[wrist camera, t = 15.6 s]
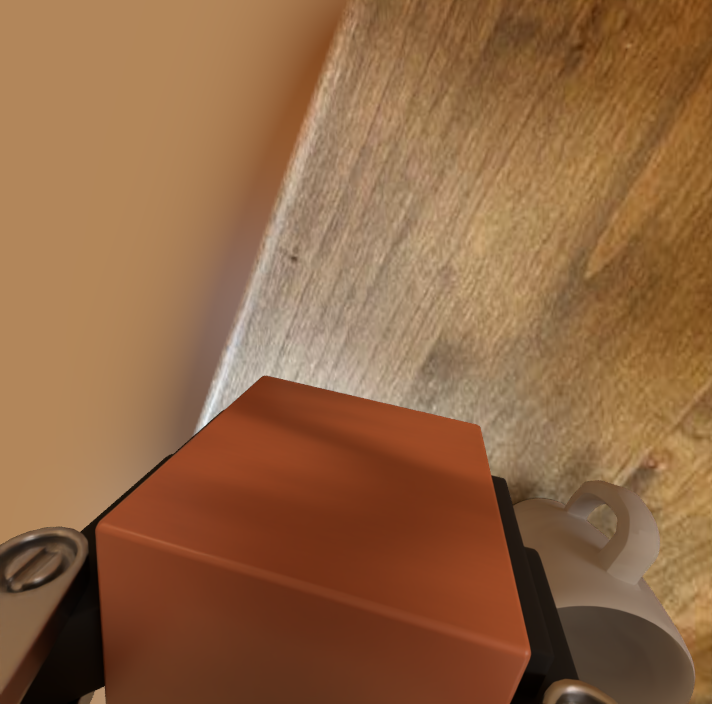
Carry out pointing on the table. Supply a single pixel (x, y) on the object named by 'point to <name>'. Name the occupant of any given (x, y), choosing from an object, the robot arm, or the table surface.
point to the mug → (609, 594)
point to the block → (312, 562)
